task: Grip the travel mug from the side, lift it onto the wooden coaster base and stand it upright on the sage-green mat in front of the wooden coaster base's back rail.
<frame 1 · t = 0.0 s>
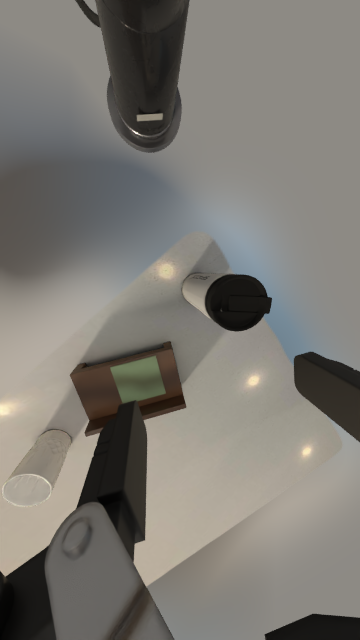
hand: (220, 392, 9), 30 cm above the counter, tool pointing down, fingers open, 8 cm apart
wooden coaster base: (132, 376, 41), on the counter
white cup: (55, 440, 42), on the counter
travel mug: (196, 288, 38), on the counter
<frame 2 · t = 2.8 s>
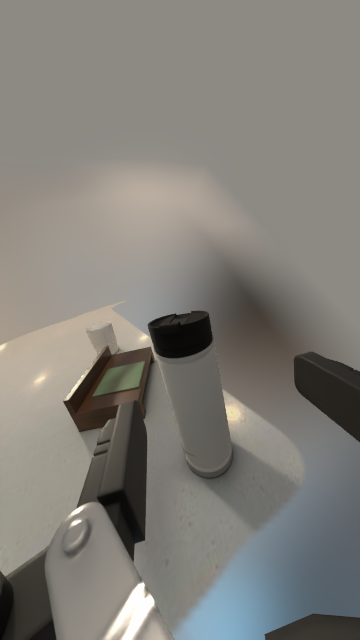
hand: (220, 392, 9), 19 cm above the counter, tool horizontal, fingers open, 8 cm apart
wooden coaster base: (125, 387, 42), on the counter
white cup: (109, 353, 62), on the counter
travel mug: (209, 454, 24), on the counter
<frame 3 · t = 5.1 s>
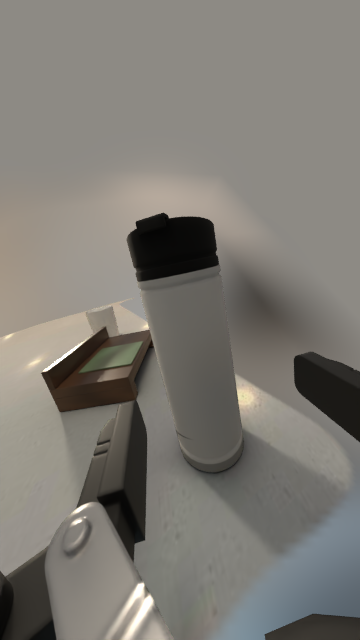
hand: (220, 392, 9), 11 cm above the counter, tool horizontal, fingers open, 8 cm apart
wooden coaster base: (119, 369, 37), on the counter
white cup: (109, 339, 58), on the counter
travel mug: (211, 443, 18), on the counter
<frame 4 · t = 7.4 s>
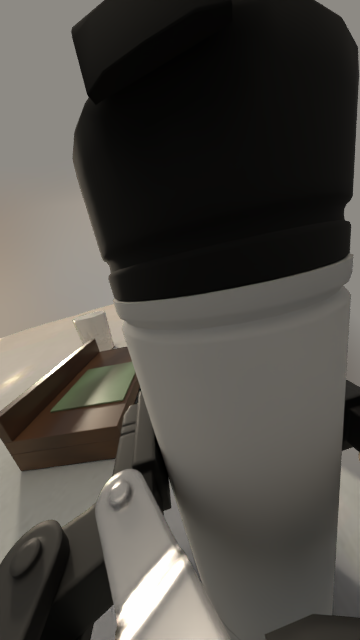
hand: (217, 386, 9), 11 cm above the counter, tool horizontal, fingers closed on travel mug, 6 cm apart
wooden coaster base: (110, 397, 29), on the counter
white cup: (101, 350, 49), on the counter
travel mug: (259, 578, 10), on the counter, touching gripper
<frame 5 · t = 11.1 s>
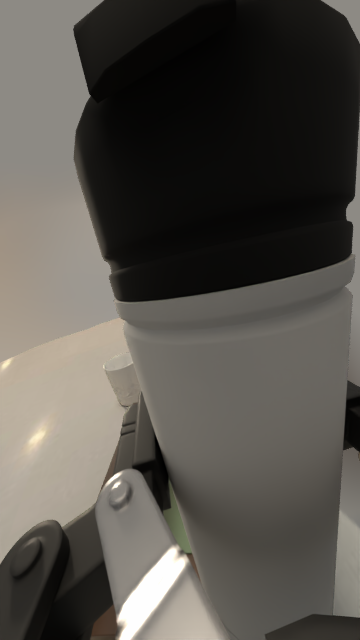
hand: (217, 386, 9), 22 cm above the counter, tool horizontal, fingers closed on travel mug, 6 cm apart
wooden coaster base: (170, 496, 23), on the counter
white cup: (133, 396, 44), on the counter
travel mug: (259, 579, 10), point 10 cm above the counter, touching gripper
when the fingers open (15 cm above the counter, at t = 14.8 s): travel mug stays where it is, resting on wooden coaster base.
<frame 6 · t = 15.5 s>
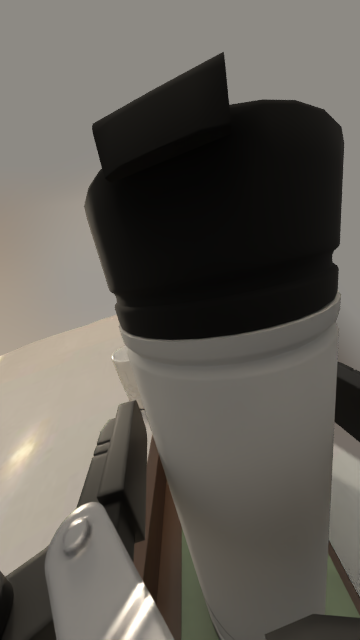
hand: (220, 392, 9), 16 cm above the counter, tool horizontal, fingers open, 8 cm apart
wooden coaster base: (237, 563, 14), on the counter
white cup: (148, 397, 35), on the counter
travel mug: (256, 582, 11), point 4 cm above the counter, touching wooden coaster base
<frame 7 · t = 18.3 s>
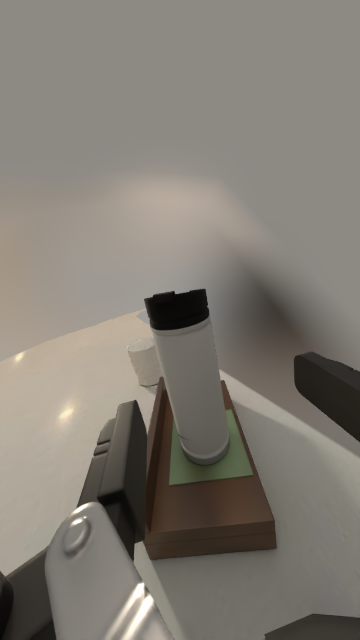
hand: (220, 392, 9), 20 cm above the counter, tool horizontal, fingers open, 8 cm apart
wooden coaster base: (201, 450, 27), on the counter
white cup: (152, 378, 48), on the counter
travel mug: (205, 443, 23), point 4 cm above the counter, touching wooden coaster base
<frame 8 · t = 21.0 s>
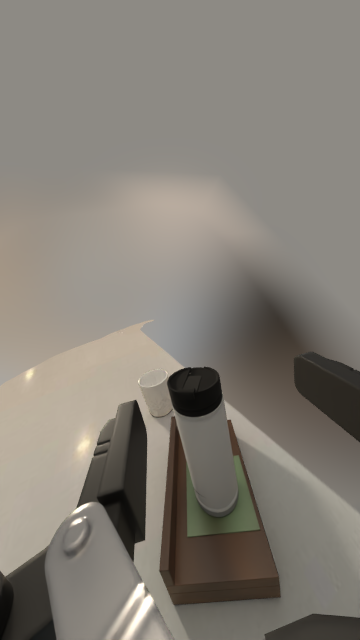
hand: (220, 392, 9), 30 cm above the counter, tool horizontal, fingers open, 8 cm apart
wooden coaster base: (212, 493, 30), on the counter
white cup: (161, 408, 51), on the counter
travel mug: (216, 492, 27), point 4 cm above the counter, touching wooden coaster base
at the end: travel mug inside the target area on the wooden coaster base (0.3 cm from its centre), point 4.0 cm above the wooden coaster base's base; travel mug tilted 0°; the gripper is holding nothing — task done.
